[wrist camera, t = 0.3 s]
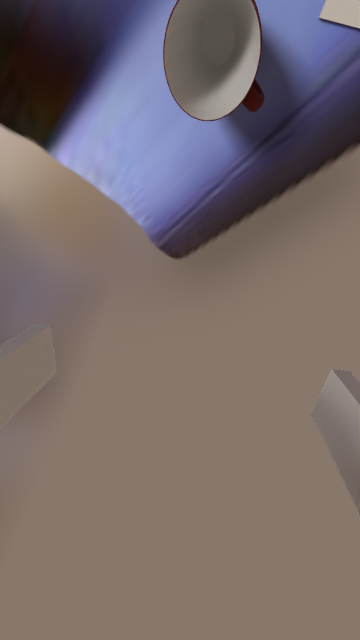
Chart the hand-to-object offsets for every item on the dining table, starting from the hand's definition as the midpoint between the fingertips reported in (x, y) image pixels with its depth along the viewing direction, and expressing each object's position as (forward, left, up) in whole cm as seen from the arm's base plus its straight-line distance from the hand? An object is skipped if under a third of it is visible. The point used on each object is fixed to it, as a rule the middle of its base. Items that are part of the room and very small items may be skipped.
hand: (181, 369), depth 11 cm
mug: (-5, +2, -35) cm, 35 cm away
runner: (-12, +24, -35) cm, 44 cm away
